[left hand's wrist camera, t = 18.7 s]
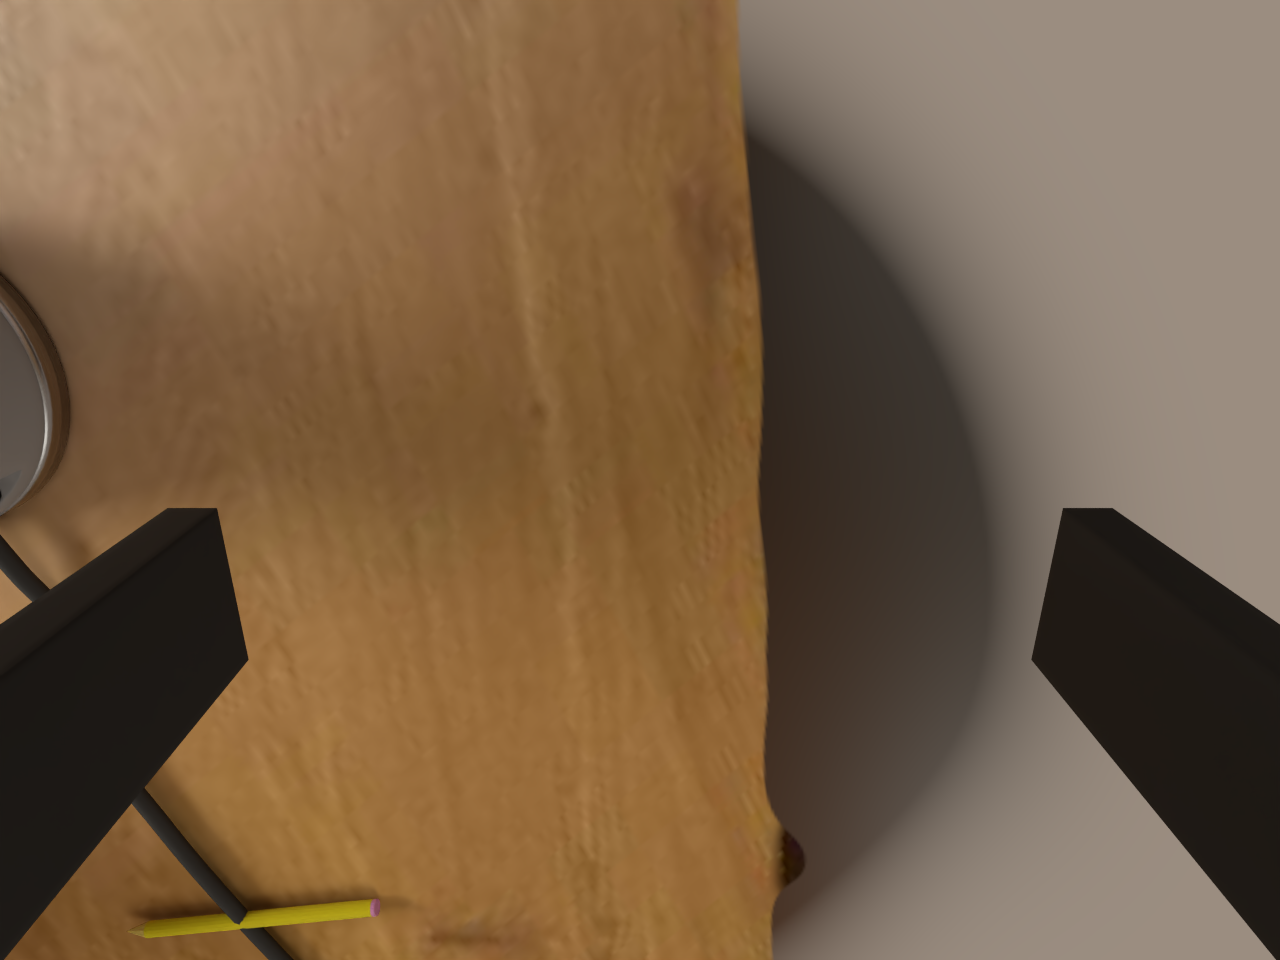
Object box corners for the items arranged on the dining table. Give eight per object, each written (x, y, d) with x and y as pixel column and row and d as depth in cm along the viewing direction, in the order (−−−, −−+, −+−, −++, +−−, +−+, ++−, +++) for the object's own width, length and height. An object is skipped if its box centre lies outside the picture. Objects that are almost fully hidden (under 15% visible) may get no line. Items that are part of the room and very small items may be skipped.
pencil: (377, 894, 50) (372, 908, 49) (381, 906, 50) (376, 919, 50) (128, 919, 51) (118, 932, 50) (133, 930, 51) (124, 944, 50)
